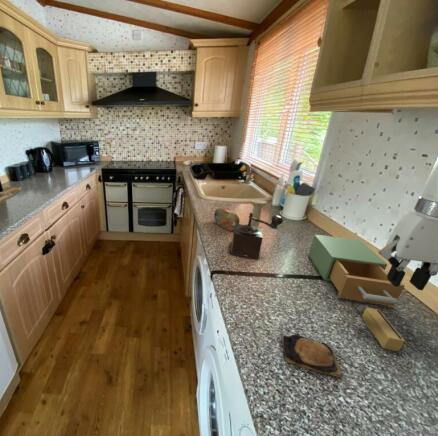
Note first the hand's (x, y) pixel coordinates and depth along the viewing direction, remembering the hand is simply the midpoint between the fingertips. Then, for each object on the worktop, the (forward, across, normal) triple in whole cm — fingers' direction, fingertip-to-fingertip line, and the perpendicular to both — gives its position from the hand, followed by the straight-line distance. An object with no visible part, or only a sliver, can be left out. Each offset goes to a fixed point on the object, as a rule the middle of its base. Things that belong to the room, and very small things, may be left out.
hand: (404, 283), depth 55 cm
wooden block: (+15, 0, 0) cm, 15 cm away
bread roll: (+15, +19, +12) cm, 27 cm away
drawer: (+14, -2, -17) cm, 22 cm away
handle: (+15, +24, -54) cm, 61 cm away
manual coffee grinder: (+15, +27, -33) cm, 45 cm away
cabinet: (+15, -2, -29) cm, 33 cm away
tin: (+15, +36, -56) cm, 68 cm away
